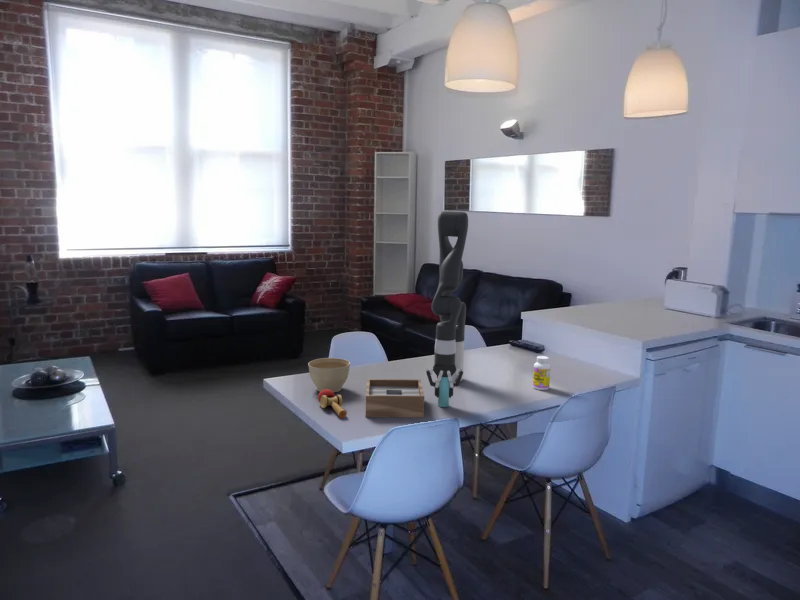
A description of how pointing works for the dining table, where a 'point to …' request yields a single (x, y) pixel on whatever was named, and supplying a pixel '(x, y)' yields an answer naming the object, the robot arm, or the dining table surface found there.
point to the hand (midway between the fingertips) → (443, 396)
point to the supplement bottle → (541, 373)
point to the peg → (444, 392)
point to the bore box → (394, 398)
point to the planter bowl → (329, 373)
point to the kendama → (332, 402)
